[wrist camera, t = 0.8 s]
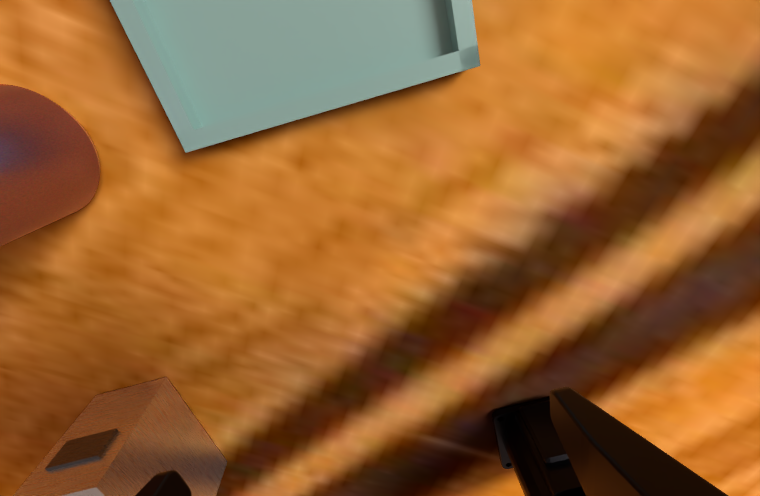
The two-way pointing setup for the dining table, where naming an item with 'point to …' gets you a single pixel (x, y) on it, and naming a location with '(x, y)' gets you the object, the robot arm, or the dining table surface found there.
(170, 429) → the block
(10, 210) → the beverage can
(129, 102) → the dining table surface
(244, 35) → the tray
